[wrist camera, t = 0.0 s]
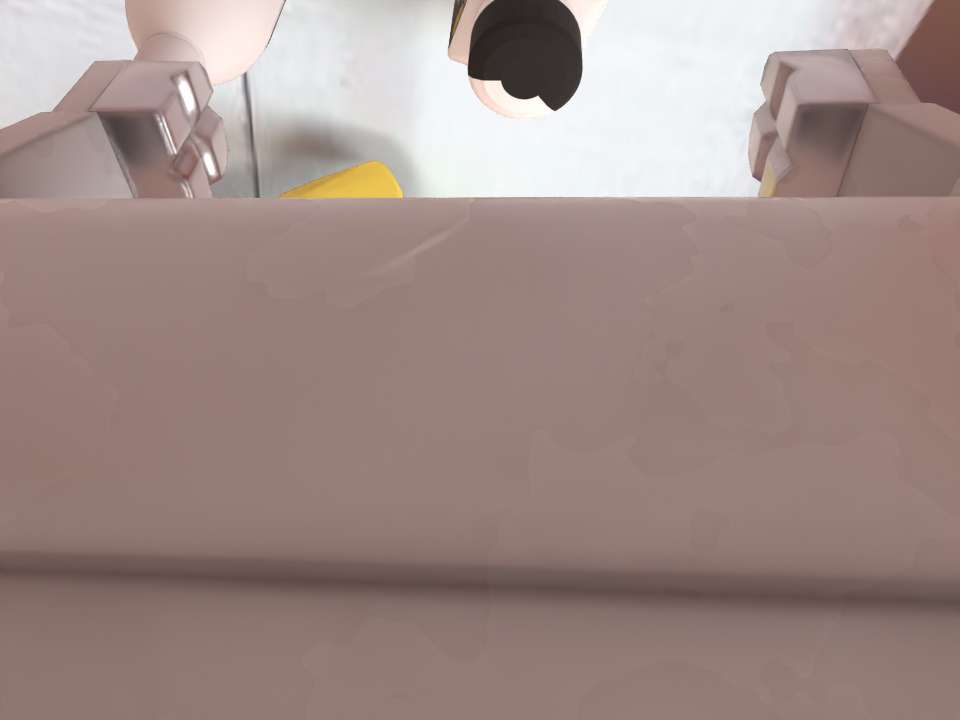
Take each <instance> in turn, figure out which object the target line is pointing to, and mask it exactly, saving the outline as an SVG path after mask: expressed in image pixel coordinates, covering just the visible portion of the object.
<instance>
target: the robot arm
mask: <svg viewBox="0 0 960 720" xmlns="http://www.w3.org/2000/svg"><path fill="white" fill-rule="evenodd" d="M760 85H761V88H762V90H763V93H764V96H765V99H766V102H765V103H764V104H763V105H762V106H761V107H760V108H759V109H758V110H757V111H756V112H755V113H754V115H753V120H752V125H751V131H750V137H749V152H748V155H749V164H750V169H751V173H752V176H753V177H754V178H756V179H757V180H759V181H760V182H761V185H760V189H759V194H758V195H759V197H498V198H212V197H213V194H212V191H211V188H210V186H211V185H212V184H214V183H215V182H217V181H219V180H220V179H222V177H223V174H224V172H225V170H226V168H227V159H228V143H227V136H226V132H225V128H224V125H223V121H222V118H220V117H219V116H218V115H217V114H216V113H215V112H214V111H213V110H212V109H211V108H210V107H209V106H208V102H209V100H210V98H211V95H212V93H213V89H212V86H211V83H210V80H209V77H208V74H207V71H206V69H205V68H204V67H203V66H202V65H201V63H200V62H199V61H131V60H115V61H95V62H94V63H93V64H92V65H91V66H90V68H89V69H88V70H87V71H86V72H85V73H84V75H83V76H82V77H81V78H80V79H79V80H78V82H77V83H76V84H75V85H74V86H73V87H72V89H71V90H70V91H69V92H68V93H67V94H66V96H65V97H64V98H63V99H62V100H61V101H60V103H59V104H58V105H57V106H56V107H55V108H54V110H53V111H52V112H41V113H38V114H36V115H34V116H31V117H29V118H27V119H24V120H22V121H20V122H17V123H15V124H13V125H10V126H8V127H6V128H3V129H1V130H0V720H960V115H959V114H957V113H955V112H953V111H950V110H948V109H946V108H943V107H941V106H939V105H936V104H934V103H921V102H920V100H919V99H918V97H917V95H916V94H915V92H914V91H913V89H912V88H911V86H910V85H909V83H908V82H907V80H906V79H905V77H904V76H903V74H902V72H901V71H900V69H899V68H898V66H897V65H896V63H895V62H894V60H893V59H892V57H891V56H890V54H889V53H888V51H887V50H884V49H881V48H879V49H862V50H848V49H836V50H810V51H784V52H774V53H772V54H770V55H769V57H768V59H767V62H766V64H765V67H764V71H763V75H762V80H761V84H760Z"/></svg>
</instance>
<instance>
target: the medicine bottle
mask: <svg viewBox="0 0 960 720" xmlns="http://www.w3.org/2000/svg"><path fill="white" fill-rule="evenodd" d="M608 1H609V0H455V3H454V11H453V18H452V25H451V32H450V39H449V46H448V56H449V58H450V59H452V60H454V61H457V62H459V63H462V64H465V65H467V66H468V76H469V81H470V84H471V86H472V89H473V90H474V92H475V94H476V95H477V97H478V98H479V99H480V101H482V102H483V103H484V104H485V105H486V106H487V107H488V108H490V109H491V110H493V111H495V112H496V113H498V114H501V115H503V116H506V117H510V118H516V119H533V118H539V117H543V116H546V115H548V114H551V113H553V112H555V111H556V110H558V109H559V108H561V107H562V106H563V105H565V104H566V103H567V102H568V101H569V100H570V99H571V97H572V96H573V95H574V93H575V92H576V90H577V88H578V86H579V84H580V80H581V77H582V50H583V48H584V46H585V44H586V43H587V41H588V39H589V37H590V35H591V33H592V31H593V29H594V27H595V26H596V24H597V22H598V20H599V18H600V16H601V14H602V12H603V10H604V9H605V7H606V5H607V3H608Z"/></svg>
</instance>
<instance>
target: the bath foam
mask: <svg viewBox="0 0 960 720" xmlns="http://www.w3.org/2000/svg"><path fill="white" fill-rule="evenodd" d="M285 1H286V0H125V9H126V17H127V22H128V26H129V30H130V32H131V35H132V38H133V40H134V42H135V45H136V47H137V49H138V53H137V55H136V56H135V58H134V60H133V61H199V62H200V63H201V65H202V66H203V67H204V68H205V69H206V71H207V74H208V77H209V80H210V83H211V86H216V85H220V84H224V83H226V82H229V81H231V80H234V79H235V78H237V77H239V76H240V75H242V74H243V73H245V72H246V71H247V70H248V69H249V68H251V67H252V66H253V64H254V63H255V62H256V61H257V60H258V59H259V57H260V56H261V55H262V53H263V52H264V50H265V49H266V47H267V45H268V44H269V41H270V39H271V36H272V34H273V31H274V29H275V26H276V24H277V21H278V19H279V16H280V14H281V11H282V9H283V6H284V4H285Z"/></svg>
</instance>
